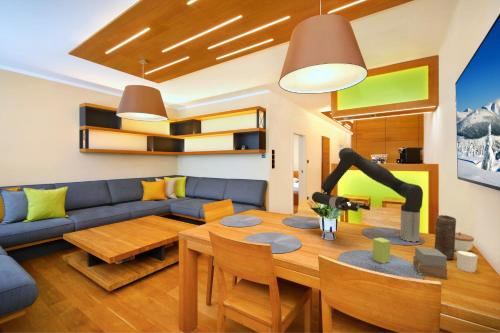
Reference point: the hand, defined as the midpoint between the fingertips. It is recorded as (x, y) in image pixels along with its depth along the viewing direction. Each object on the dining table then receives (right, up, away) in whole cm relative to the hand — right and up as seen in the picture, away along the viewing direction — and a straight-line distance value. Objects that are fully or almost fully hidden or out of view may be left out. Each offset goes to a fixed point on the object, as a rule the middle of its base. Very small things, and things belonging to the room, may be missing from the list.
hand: (363, 208), depth 114 cm
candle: (+37, -23, -5) cm, 44 cm away
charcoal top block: (+19, -19, -19) cm, 33 cm away
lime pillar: (+4, -23, -9) cm, 25 cm away
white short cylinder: (+36, -23, -17) cm, 46 cm away
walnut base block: (+18, -24, -19) cm, 35 cm away
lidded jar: (+52, -23, +4) cm, 57 cm away
